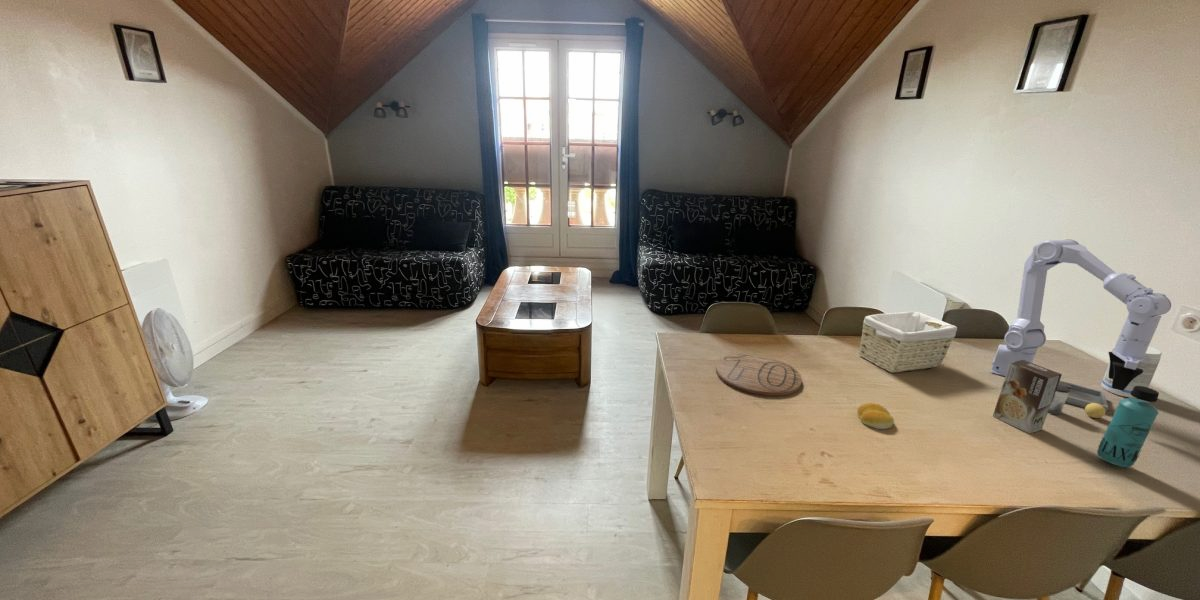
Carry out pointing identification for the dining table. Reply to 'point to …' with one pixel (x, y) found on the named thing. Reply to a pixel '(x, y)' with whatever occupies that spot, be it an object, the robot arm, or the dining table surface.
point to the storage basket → (905, 341)
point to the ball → (1095, 410)
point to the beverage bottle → (1129, 427)
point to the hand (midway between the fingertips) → (1115, 383)
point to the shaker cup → (1059, 398)
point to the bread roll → (875, 416)
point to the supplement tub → (1141, 379)
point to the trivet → (758, 375)
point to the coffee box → (1026, 395)
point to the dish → (1085, 396)
